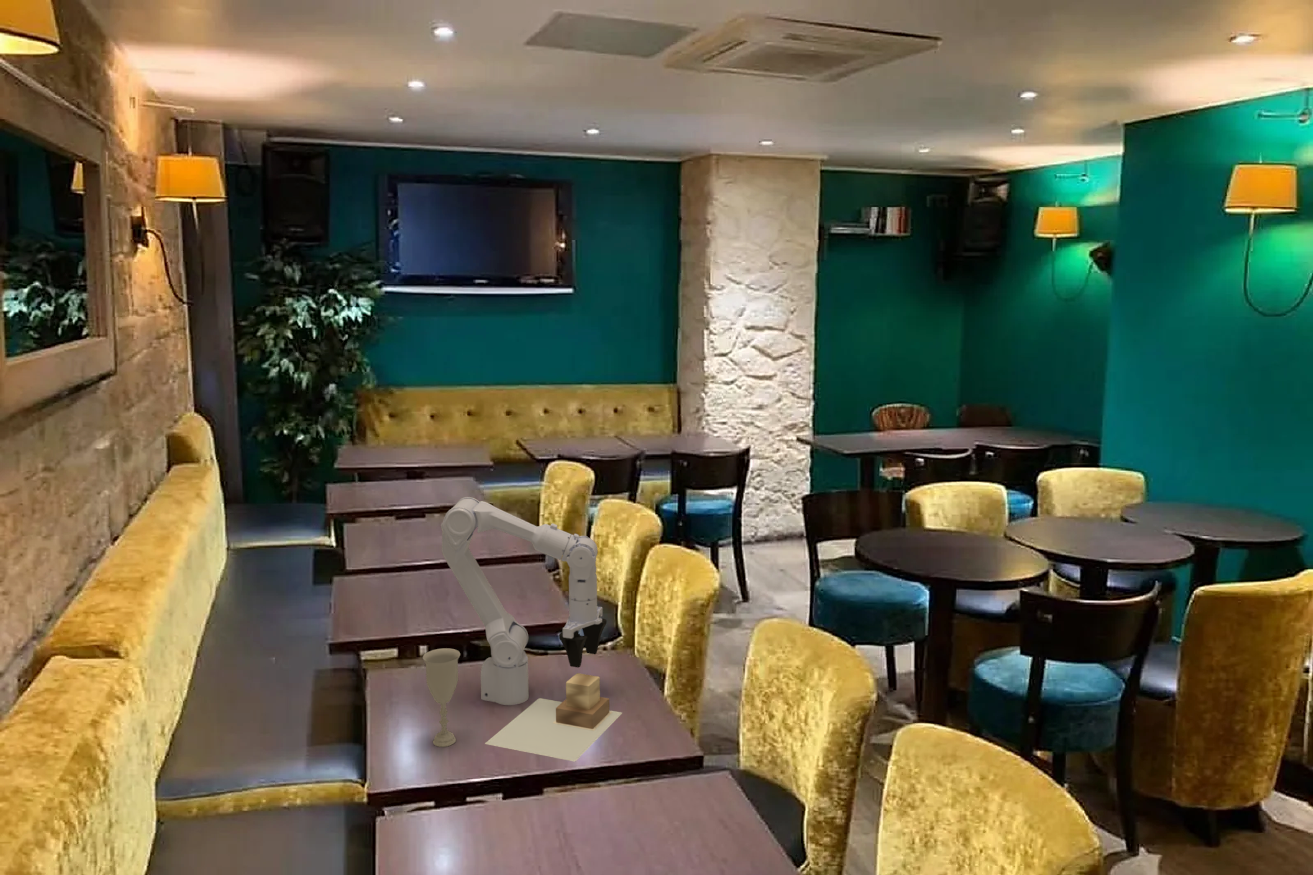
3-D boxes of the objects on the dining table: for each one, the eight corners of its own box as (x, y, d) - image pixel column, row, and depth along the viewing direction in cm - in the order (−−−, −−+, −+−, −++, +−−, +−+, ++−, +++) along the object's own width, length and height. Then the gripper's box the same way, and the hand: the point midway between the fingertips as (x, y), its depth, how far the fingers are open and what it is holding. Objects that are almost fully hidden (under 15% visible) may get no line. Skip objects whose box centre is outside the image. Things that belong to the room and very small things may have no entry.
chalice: (453, 756, 186) (450, 664, 183) (419, 752, 188) (416, 661, 185) (468, 738, 193) (466, 649, 190) (435, 735, 195) (432, 647, 192)
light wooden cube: (566, 706, 199) (565, 682, 198) (577, 696, 203) (577, 673, 202) (589, 710, 197) (588, 686, 196) (599, 700, 201) (599, 676, 201)
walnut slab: (556, 722, 198) (555, 708, 198) (573, 706, 206) (573, 692, 205) (592, 729, 196) (592, 714, 195) (609, 712, 203) (609, 698, 202)
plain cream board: (484, 748, 190) (484, 743, 189) (539, 701, 210) (539, 697, 210) (575, 766, 183) (575, 761, 183) (622, 716, 203) (622, 712, 203)
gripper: (584, 610, 198) (585, 675, 200) (615, 589, 211) (615, 650, 213) (553, 605, 200) (554, 670, 203) (585, 584, 214) (585, 645, 216)
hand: (583, 659), depth 208 cm, fingers open, 7 cm apart
